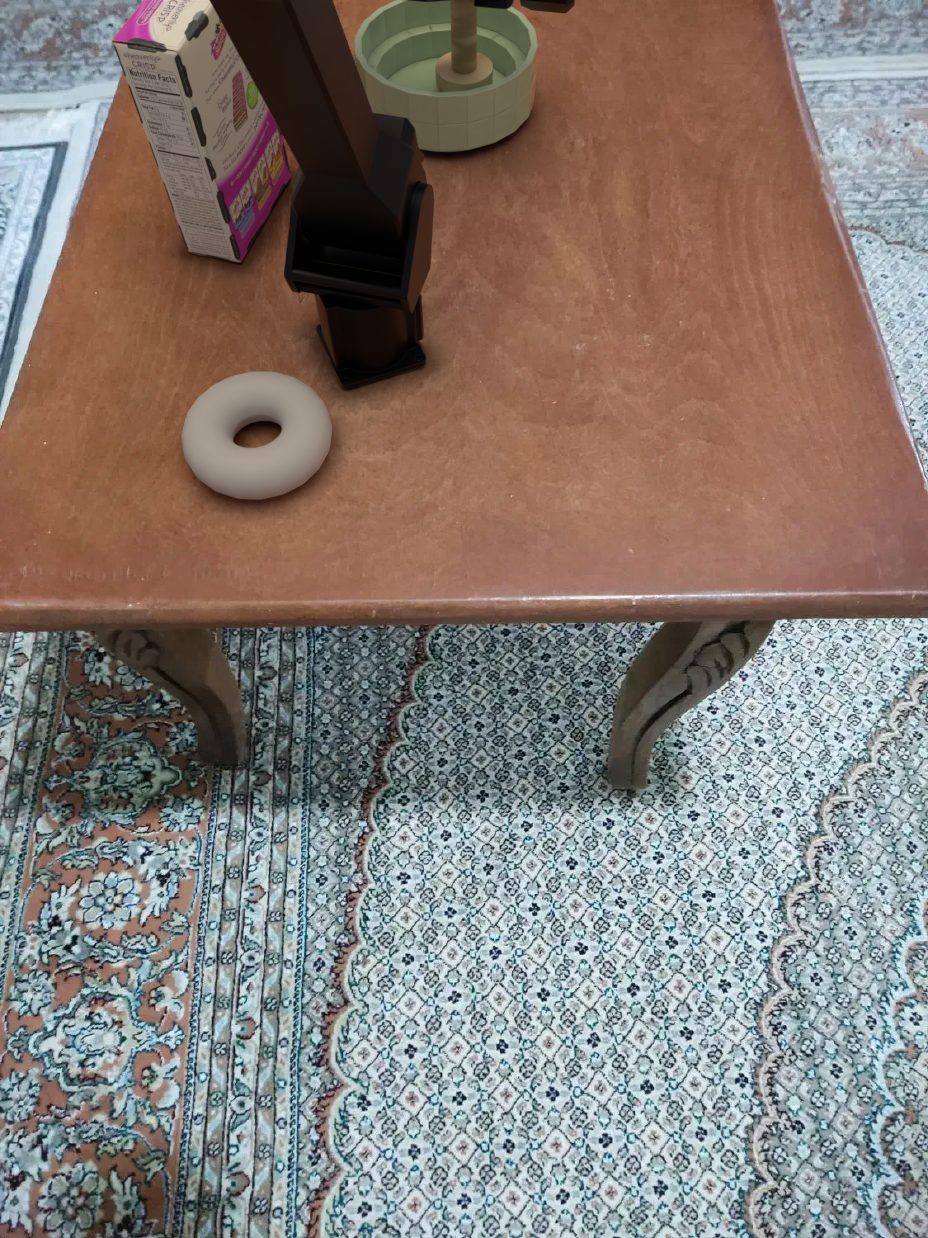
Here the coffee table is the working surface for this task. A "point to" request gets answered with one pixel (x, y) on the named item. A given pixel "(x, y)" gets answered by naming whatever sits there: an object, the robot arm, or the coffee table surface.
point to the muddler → (463, 53)
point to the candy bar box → (203, 124)
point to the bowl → (406, 83)
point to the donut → (266, 465)
